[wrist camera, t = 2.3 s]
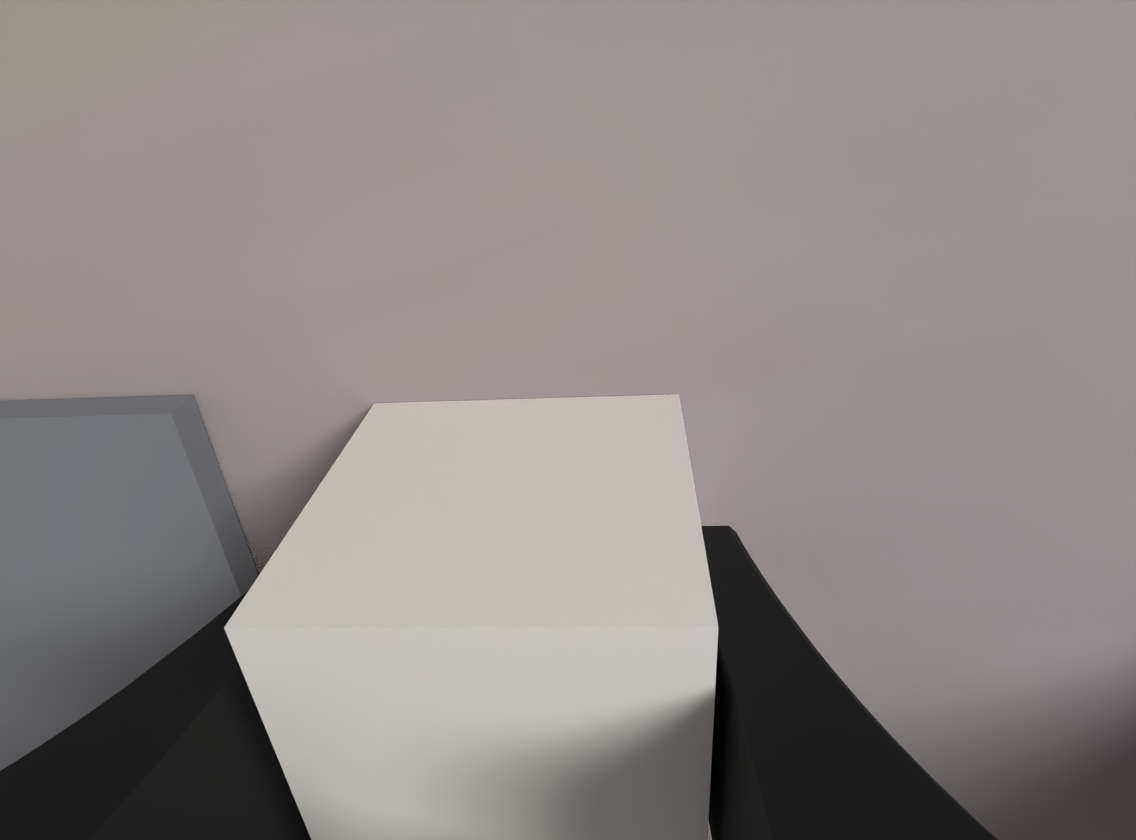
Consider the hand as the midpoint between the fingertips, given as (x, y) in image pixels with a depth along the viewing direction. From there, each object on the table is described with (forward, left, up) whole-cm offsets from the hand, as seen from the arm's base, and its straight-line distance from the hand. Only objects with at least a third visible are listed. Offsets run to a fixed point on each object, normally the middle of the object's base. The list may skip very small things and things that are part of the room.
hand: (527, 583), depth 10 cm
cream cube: (0, 0, -1) cm, 1 cm away
